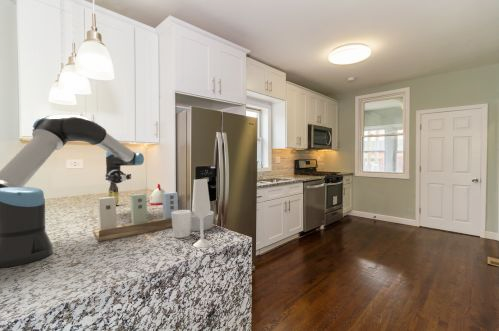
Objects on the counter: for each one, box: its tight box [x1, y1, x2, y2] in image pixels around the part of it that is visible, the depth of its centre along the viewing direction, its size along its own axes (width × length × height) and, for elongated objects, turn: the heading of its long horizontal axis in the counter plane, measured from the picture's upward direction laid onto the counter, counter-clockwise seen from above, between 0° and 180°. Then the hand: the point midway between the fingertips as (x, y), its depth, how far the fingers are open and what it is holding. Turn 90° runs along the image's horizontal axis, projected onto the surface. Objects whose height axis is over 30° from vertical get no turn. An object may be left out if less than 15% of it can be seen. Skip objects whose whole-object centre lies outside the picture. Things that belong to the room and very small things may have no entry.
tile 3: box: [162, 191, 179, 220], centre depth 117 cm, size 4×6×14 cm
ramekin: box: [190, 210, 215, 232], centre depth 111 cm, size 13×13×7 cm
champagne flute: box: [191, 178, 212, 248], centre depth 88 cm, size 7×7×24 cm
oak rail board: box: [92, 217, 173, 242], centre depth 112 cm, size 16×36×4 cm, turn 129°
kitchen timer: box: [148, 183, 167, 206], centre depth 180 cm, size 14×14×15 cm
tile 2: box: [130, 193, 148, 225], centre depth 114 cm, size 4×6×14 cm
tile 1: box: [98, 196, 118, 230], centre depth 105 cm, size 4×6×14 cm
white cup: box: [171, 209, 192, 239], centre depth 100 cm, size 8×8×10 cm
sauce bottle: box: [108, 182, 120, 205], centre depth 175 cm, size 7×6×20 cm
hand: (124, 177), depth 120 cm, fingers closed
